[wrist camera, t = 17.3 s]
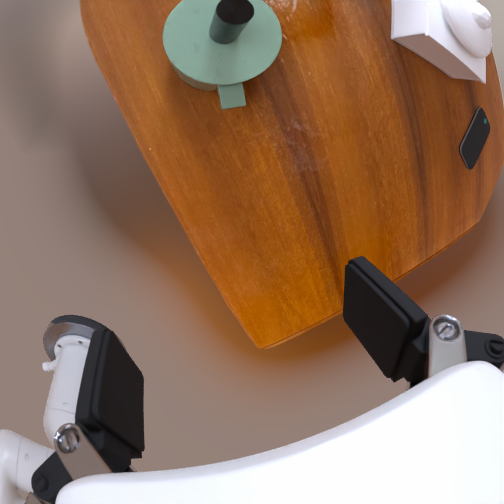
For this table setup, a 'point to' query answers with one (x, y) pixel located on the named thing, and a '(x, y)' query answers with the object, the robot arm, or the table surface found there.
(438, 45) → the white box
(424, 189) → the table surface
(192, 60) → the pot lid
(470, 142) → the smartphone
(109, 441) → the robot arm
